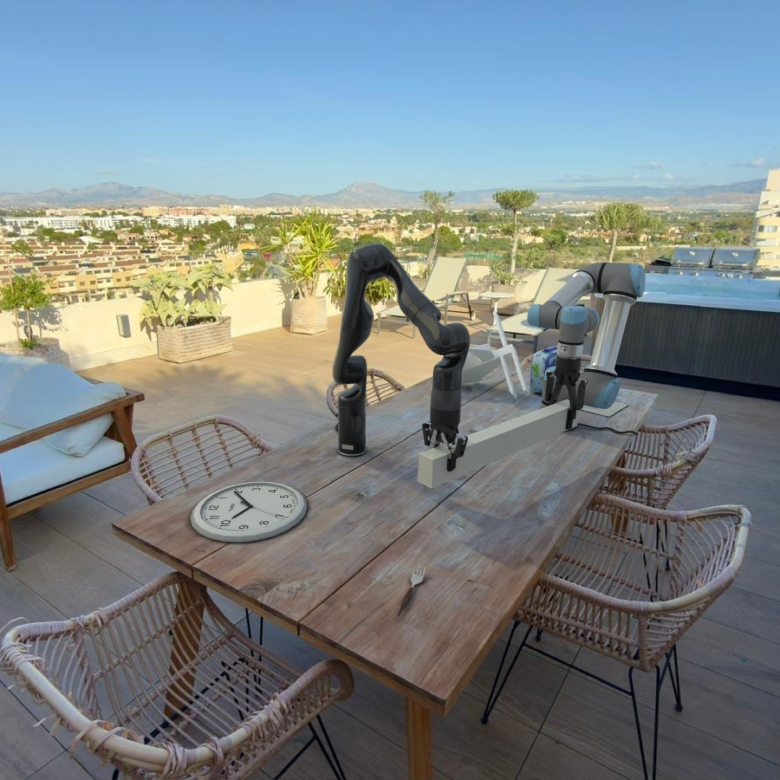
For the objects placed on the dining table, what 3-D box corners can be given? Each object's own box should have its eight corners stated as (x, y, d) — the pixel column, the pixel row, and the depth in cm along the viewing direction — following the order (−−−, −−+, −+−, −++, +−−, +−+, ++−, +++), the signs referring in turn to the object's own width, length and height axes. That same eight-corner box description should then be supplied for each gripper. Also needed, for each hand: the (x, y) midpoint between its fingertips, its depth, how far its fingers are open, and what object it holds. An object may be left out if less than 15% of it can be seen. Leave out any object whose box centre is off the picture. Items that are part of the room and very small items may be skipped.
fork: (391, 616, 102) (391, 608, 102) (415, 569, 116) (416, 561, 116) (404, 620, 101) (404, 611, 101) (426, 571, 116) (427, 564, 115)
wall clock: (302, 534, 126) (174, 538, 123) (303, 540, 126) (175, 544, 124) (310, 477, 154) (206, 479, 152) (310, 482, 155) (206, 484, 152)
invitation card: (608, 416, 214) (573, 407, 224) (608, 416, 214) (573, 408, 224) (628, 404, 229) (594, 396, 238) (628, 405, 229) (594, 397, 238)
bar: (563, 421, 176) (566, 399, 174) (577, 425, 172) (580, 403, 170) (417, 481, 133) (418, 453, 130) (431, 488, 129) (432, 459, 127)
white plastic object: (461, 429, 252) (437, 405, 227) (444, 352, 274) (420, 323, 250) (535, 404, 240) (518, 377, 215) (510, 326, 262) (492, 293, 237)
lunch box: (546, 399, 235) (551, 353, 228) (525, 393, 242) (530, 349, 236) (574, 387, 252) (579, 345, 246) (553, 383, 260) (558, 341, 253)
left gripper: (414, 399, 131) (412, 461, 137) (457, 415, 121) (453, 481, 126) (435, 394, 136) (432, 453, 141) (478, 408, 126) (473, 472, 131)
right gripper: (537, 352, 167) (530, 420, 174) (589, 364, 154) (580, 437, 161) (550, 349, 172) (543, 415, 179) (602, 360, 159) (592, 431, 166)
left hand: (442, 466), depth 134 cm, fingers closed on bar, 5 cm apart
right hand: (560, 425), depth 170 cm, fingers closed on bar, 5 cm apart
